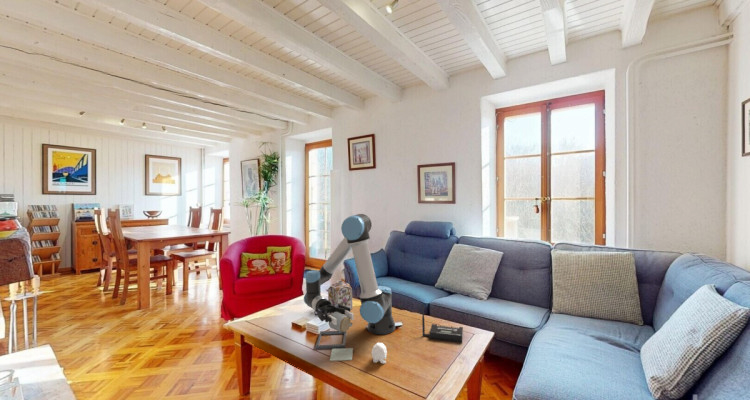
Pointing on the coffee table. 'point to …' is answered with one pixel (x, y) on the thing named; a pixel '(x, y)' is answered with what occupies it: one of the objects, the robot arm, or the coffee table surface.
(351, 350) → the grey-green mat
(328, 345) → the square frame
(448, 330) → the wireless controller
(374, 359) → the white figurine
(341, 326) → the ceramic mug
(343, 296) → the decorative jar
